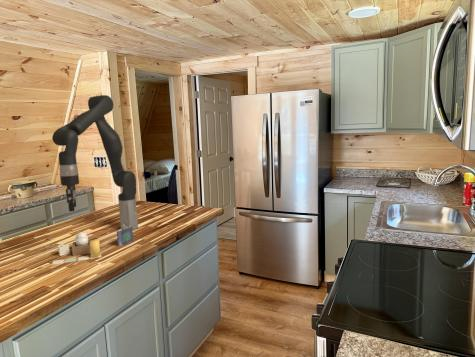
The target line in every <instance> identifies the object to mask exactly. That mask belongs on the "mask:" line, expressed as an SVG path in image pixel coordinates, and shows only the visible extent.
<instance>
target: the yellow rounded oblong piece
mask: <svg viewBox="0 0 475 357" xmlns="http://www.w3.org/2000/svg"><path fill="white" fill-rule="evenodd" d="M90 240H91V241H89V243H90V253H89V254H90V255H91V257H92V259H97V258H96V257H98V258H100V257H99V256H101V257H102V254H101V248H100V240H99V239H90ZM100 254H101V255H100Z"/></svg>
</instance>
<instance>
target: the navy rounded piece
mask: <svg viewBox="0 0 475 357" xmlns="http://www.w3.org/2000/svg"><path fill="white" fill-rule="evenodd" d="M121 226H122V229H121V228H120V229H118V230H116V240H117V247H122V246H124V245H126V244H128V243H131V242H133V241H134V239H133V238H134V234H133V230H132V226H125V225H124V224H123V225H121V224H120V227H121Z"/></svg>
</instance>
